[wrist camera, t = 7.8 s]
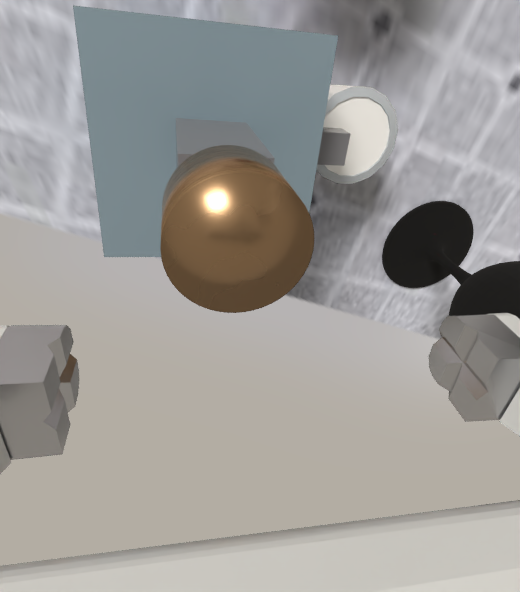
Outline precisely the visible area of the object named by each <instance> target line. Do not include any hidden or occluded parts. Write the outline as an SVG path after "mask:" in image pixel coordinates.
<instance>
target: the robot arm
mask: <svg viewBox="0 0 520 592" xmlns="http://www.w3.org/2000/svg"><path fill="white" fill-rule="evenodd" d="M439 331H440V334H441V336H442V338H440V339H439V340H438V341H437V342H436V343H435V344H433V346H432V349H431V352H430V355H429V368H430V371H431V373H432V376H433V377H434V379H435V380H436V382H437V383H438V384H439V385H441V386H442V387H444V388H445V389H447V390H449V400H450V401H451V403H452V404H453V405H454V407H455V408H456V409H457V411H458V412H459V414H460V415H461V416H462V418H463V419H464V420H465V421H486V420H500V421H499V422H500V423H502V424H503V425H505V426H506V427H507V428H509V429H510V430H511V431H513V432H514V433H516V434H517V435H518V436H520V319H519V318H518V317H516V316H515V315H512V314H510V313H495V314H487V315H459V316H448V317H447V318H446V319H445V320H444V321H443V322H442V325H441V327H440V329H439ZM72 345H73V338H72V334H71V330H70V328H69V327H68V326H67V325H15V326H14V325H13V326H0V474H1V473H2V472H3V471H4V470H5V469H6V468H7V467H8V465H9V464H10V463H11V460H13V459H23V458H33V457H42V456H51V455H60V454H63V450H64V446H65V442H66V439H67V435H68V431H69V428H70V421H69V417H68V412H69V411H70V410H71V409H72V408H74V407H75V405H76V401H77V396H78V389H79V369H78V363H77V359H76V358H74V357H73V356H72V355H71V354H70V352H71V348H72ZM0 592H520V500H518V501H509V502H501V503H494V504H486V505H478V506H471V507H462V508H455V509H446V510H438V511H431V512H423V513H415V514H407V515H399V516H392V517H383V518H375V519H368V520H360V521H352V522H344V523H336V524H328V525H320V526H312V527H304V528H297V529H288V530H281V531H273V532H265V533H257V534H249V535H241V536H234V537H225V538H217V539H209V540H202V541H193V542H186V543H178V544H170V545H162V546H154V547H146V548H138V549H130V550H122V551H115V552H107V553H99V554H91V555H83V556H75V557H68V558H59V559H51V560H43V561H35V562H27V563H20V564H11V565H3V566H0Z"/></svg>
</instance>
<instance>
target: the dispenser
mask: <svg viewBox="0 0 520 592" xmlns="http://www.w3.org/2000/svg"><path fill="white" fill-rule="evenodd" d="M73 9H74V17H75V25H76V33H77V41H78V49H79V58H80V66H81V74H82V82H83V90H84V98H85V106H86V114H87V122H88V130H89V138H90V146H91V154H92V162H93V170H94V179H95V187H96V195H97V203H98V211H99V219H100V227H101V235H102V243H103V251H104V257H161V250H160V247H161V222H162V201H163V195H164V191H165V188H166V185H167V183H168V181H169V179H170V177H171V176H172V174H173V173H174V171H175V170H176V169H177V168H178V167H179V165H180V164H181V163H182V162H184V161H185V160H186V159H187V158H189V157H190V156H192V155H193V154H195V153H197V152H199V151H201V150H203V149H206V148H210V147H213V146H220V145H236V146H242V147H246V148H249V149H252V150H254V151H256V152H258V153H260V154H262V155H263V156H265V157H266V158H267V159H269V160H270V161H271V162H272V163H273V164H274V165H275V166H276V167H277V168H278V170H279V171H280V172H281V174H282V175H283V176H284V178H285V179H286V180H287V182H288V183H289V184H290V186H291V187H292V188H293V190H294V191H295V192H296V194H297V195H298V196H299V198H300V199H301V200H302V202H303V203H304V205H305V206H306V208H307V210H308V212H309V211H310V205H311V199H312V193H313V187H314V181H315V175H316V169H317V165H338V166H344V165H345V159H346V154H347V149H348V144H349V139H350V133H349V132H347V131H345V130H344V129H342V128H328V127H323V126H324V120H325V114H326V108H327V101H328V95H329V89H330V83H331V77H332V71H333V65H334V59H335V53H336V47H337V40H338V36H337V35H328V34H319V33H310V32H301V31H293V30H284V29H275V28H266V27H257V26H248V25H240V24H231V23H222V22H213V21H204V20H196V19H187V18H178V17H169V16H160V15H151V14H143V13H134V12H125V11H116V10H107V9H99V8H90V7H81V6H73Z"/></svg>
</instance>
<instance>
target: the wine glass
mask: <svg viewBox="0 0 520 592" xmlns="http://www.w3.org/2000/svg"><path fill="white" fill-rule="evenodd" d="M472 239H473V224H472V220H471V218H470V216H469V214H468V213H467V212H466V211H465V210H464V209H463V208H462V207H460V206H459V205H457V204H455V203H452V202H448V201H435V202H430V203H426V204H423V205H421V206H419V207H417V208H415V209H413V210H412V211H410V212H409V213H407V214H406V215H405V216H403V217H402V218H401V219H400V220H399V221H398V222H397V224H396V225H395V226H394V227H393V229H392V230H391V232H390V233H389V235H388V237H387V239H386V241H385V244H384V248H383V254H382V260H383V266H384V269H385V271H386V273H387V275H388V276H389V277H390V278H391V279H392V280H393V281H394V282H395V283H397V284H399V285H401V286H404V287H410V288H418V287H425V286H428V285H431V284H434V283H436V282H438V281H440V280H442V279H444V278H445V277H447V276H448V275H449V274H452V275H453V276H454V277H455V278H456V279H457V281H458V282H459V283H460V284H461V286H460V287H459V288H458V290H457V292H456V294H455V296H454V298H453V301H452V304H451V308H450V312H449V316H459V315H487V314H495V313H510V314H512V315H515V316H516V317H518V318H519V319H520V261H514V262H506V263H499V264H496V265H492V266H489V267H486V268H484V269H481V270H479V271H478V272H476V273H474V274H473V275H471V274H469V273H467V272H466V271H464V270H463V269H461V268H460V267H459V265H460V264H461V262H462V261H463V259H464V258H465V256H466V255H467V253H468V251H469V249H470V246H471V243H472Z"/></svg>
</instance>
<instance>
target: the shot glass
mask: <svg viewBox="0 0 520 592" xmlns="http://www.w3.org/2000/svg"><path fill="white" fill-rule="evenodd" d="M323 127H328V128H342V129H344V130H345V131H347V132H349V133H350V139H349V144H348V149H347V154H346V159H345V165H344V166H338V165H317V170H318V172H319V173H320V174H321V175H322V177H324V178H326V179H328V180H330V181H333V182H335V183H337V184H354V183H357V182H359V181H362V180H364V179H366V178H369V177H371V176H372V175H373V174H374V173H375V172H376V171H377V170H379V169H380V168H381V167H382V166H383V165H384V164H385V162H386V161H387V159H388V157H389V156H390V154H391V152H392V151H393V149H394V145H395V141H396V136H397V132H398V125H397V118H396V111H395V109H394V108H393V106H392V105H391V103H390V101H389V100H388V98H387V96H385V95H384V94H382V93H380V92H379V91H377V90H375V89H374V88H372V87H361V86H345V85H330V89H329V95H328V101H327V108H326V114H325V120H324V126H323Z"/></svg>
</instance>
